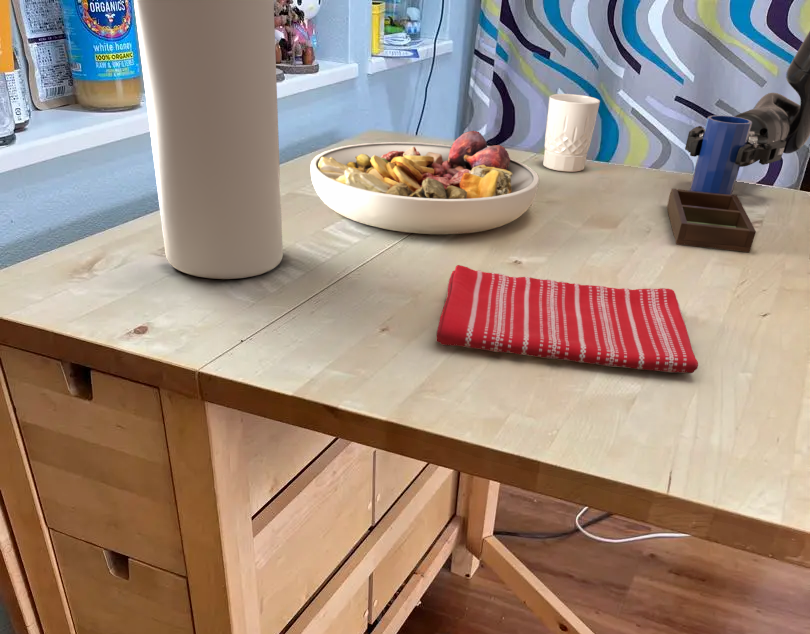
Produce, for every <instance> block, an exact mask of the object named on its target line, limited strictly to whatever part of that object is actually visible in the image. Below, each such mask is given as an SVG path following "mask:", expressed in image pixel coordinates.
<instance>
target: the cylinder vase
mask: <svg viewBox="0 0 810 634" xmlns="http://www.w3.org/2000/svg"><path fill="white" fill-rule="evenodd" d="M274 3H275V2H274V0H133V4H134V12H135V20H136V27H137V29H136V30H137V37H138V44H139V53H140V61H141V68H142V76H143V84H144V91H145V101H146V109H147V116H148V124H149V132H150V140H151V149H152V156H153V165H154V171H155V172H154V173H155V180H156V181H155V182H156V188H157V196H158V197H157V198H158V204H159V214H160V219H161V229H162V236H163V245H164V252H165V258H166V260H167V262H168V263H169V264H170V266H171V267H173V268H174V269H176V270H177V271H179V272H182V273H184V274H186V275H189V276H193V277H198V278H204V279H215V280H237V279H246V278H250V277H256V276H260V275H263V274H266V273H268V272H271V271H273V269H275V268H276V267H278V265H280V263H281V262H282V259H283V255H284V250H283V223H282V221H283V220H282V195H281V194H282V193H281V192H282V191H281V167H280V166H281V165H280V140H279V137H280V136H279V114H278V113H279V112H278V109H279V108H278V86H277V84H278V83H277V60H276V59H277V57H276V56H277V55H276V32H275V31H276V29H275V27H276V26H275V5H274Z"/></svg>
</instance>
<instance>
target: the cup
mask: <svg viewBox="0 0 810 634" xmlns="http://www.w3.org/2000/svg"><path fill="white" fill-rule="evenodd" d="M751 125H752V121H750V120H748V119H744V118H739V117H734V116H733V115H719V114H718V115H717V114H716V115H709V116H707V118H706V122H705V127H704V129H705V130H704V134H703V138H702V142H701V146H700V150H699V154H698V156H697V159H696V163H695V167H694V171H693V175H692V177H691V178H692V180H691V183H690V188H689V190H690V191H700V192H709V193H719V194H728V195H733V192H734V189H735V185H736V181H737V178H738V174H739V171H740V168H741V167H740V165H737V164H735V162H736V158H737V155H738V151H739V149H740V147H742V146H745V145H746V143H747V139H748V136H749V132H750V129H751Z"/></svg>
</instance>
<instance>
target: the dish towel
mask: <svg viewBox="0 0 810 634" xmlns="http://www.w3.org/2000/svg"><path fill="white" fill-rule="evenodd" d="M446 295H447V296H446V298H445V301H444V305H443V308H442V310H441V311H442V312H441V314H440V317H439V320H438V326H437V330H436V342H437V343H439V344H440V345H443V346H448V347H449V346H451V347H452V346H453V347H454V346H456V347H457V346H458V347H464V348H466V349H467V348H468V349H475V350H481V351H482V350H483V351H488V352H489V351H490V352H493V353H494V352H495V353H507V354H514V355H520V356H529V357H530V356H531V357H536V358H542V359H543V358H544V359H550V360H561V361H572V362H576V363H579V364H580V363H582V364H583V363H585V364H591V365H598V366H604V367H609V368H611V367H612V368H617V367H618V368H623V369H625V368H627V369H634V370H642V371H643V370H647V371H653V372H664V373H681V374H683V373H687V374H693V373H694V372H696V371H697V369H698V367H699V360H698V359H697V358H696V356H695V353H694V351H693V347H692V343H691V340H690V336H689V333H688V329H687V326H686V322H685V319H684V317H683V313H682V310H681V305H680V303H679V301H678V299H677V295H676V292H675V290H674V289H671V288H664V287H662V288H661V287H660V288H647V287H646V288H637V289H630V288H629V287H628V288H627V287H623V288H616V287H609V286H604V285H603V286H602V285H594V284H593V285H591V284H580V283H577V282H576V283H575V282H573V283H571V282H565V281H557V280H553V279H548V278H547V279H543V278H535V277H530V276H519V277H518V276H509V275H506V274H502V273H495V272H486V271H482V270H474V269H472V268H470V267H468V266H464V265H461V264H457V265H456V266H455V269H454V270H452V271H451V274H450V277H449V280H448V283H447V294H446Z"/></svg>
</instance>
